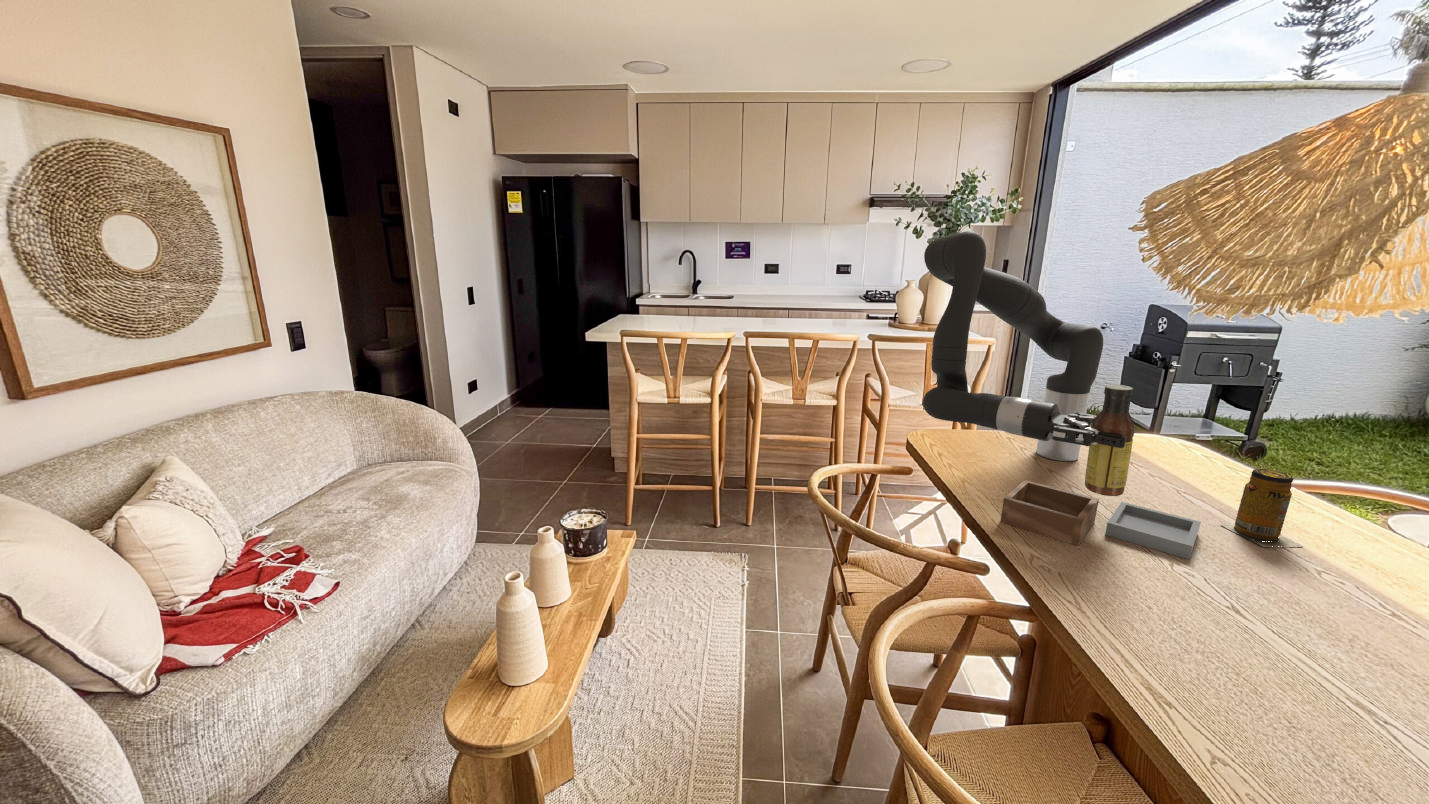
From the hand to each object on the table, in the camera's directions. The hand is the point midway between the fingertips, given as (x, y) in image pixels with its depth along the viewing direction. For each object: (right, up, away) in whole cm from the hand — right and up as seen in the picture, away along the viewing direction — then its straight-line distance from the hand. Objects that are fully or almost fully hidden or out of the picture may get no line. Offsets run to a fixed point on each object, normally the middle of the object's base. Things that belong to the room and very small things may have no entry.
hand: (1129, 437), depth 97 cm
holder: (-9, -17, +9) cm, 21 cm away
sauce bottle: (-2, -10, +5) cm, 11 cm away
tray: (+7, -18, +4) cm, 20 cm away
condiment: (+26, -18, +3) cm, 32 cm away
